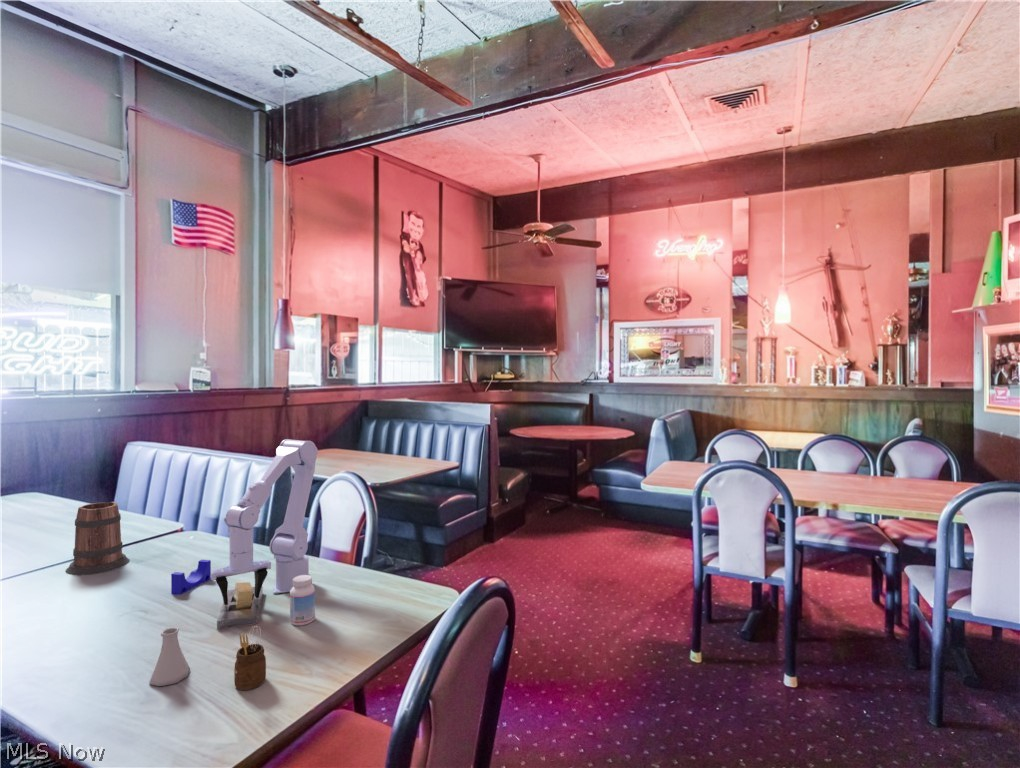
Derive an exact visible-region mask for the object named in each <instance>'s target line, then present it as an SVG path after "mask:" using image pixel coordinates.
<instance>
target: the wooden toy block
mask: <svg viewBox="0 0 1020 768" xmlns="http://www.w3.org/2000/svg"><path fill="white" fill-rule="evenodd" d="M234 590H235V593H234V599H233V602H236V606H235V611H237V610H245V609H251V602H252V596H253V589H252V584H251V582H235V587H234Z"/></svg>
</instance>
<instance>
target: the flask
mask: <svg viewBox="0 0 1020 768" xmlns="http://www.w3.org/2000/svg"><path fill="white" fill-rule="evenodd" d="M179 631H180V627H174V626H172V627H167V628H166V629H163V630H162V631H161V633H160V636H161V637H162V645H161V649H160V653H159V657H158V659H157V662H156V665H155V667H154V670H153V673H152V675H151V678H150V680H149V683H148V685H152V686H156V687H163V686H168V685H169V686H170V685H173V684H178V683H179V682H181V681H182V680H184V679H185V678H186V677H188V676H189V674H190V670H191V667H190V665H189V663H188V661H187V660H186V658H185V656H184V653H183V651H182V649H181V647H180V642H179V637H178V635H179V634H178V633H179Z"/></svg>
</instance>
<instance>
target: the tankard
mask: <svg viewBox="0 0 1020 768" xmlns="http://www.w3.org/2000/svg"><path fill="white" fill-rule="evenodd" d="M121 516H122V515H121V513H120V510H119V507H118V503H117V502H116V501H108V502H95V503H89V504H88V503H87V504H84V505H82V506H79V507H78V509H77V513H76V518H75V519H74V527H75V528H74V529H75V531H74V532H75V534H74V548H73V551H72V554H73V555H72V557H73V561H71V562H70V564H69V566H68V567H67V568H66V569H65V574H67V575H71V576H88V575H89V576H90V575H97V574H101V573H107V572H110V571H114V570H117V569H121V568H123V567H125V566H127V565H128V564H129V563H130V562H131V560H130V558H129V557H127V555H126V554H124V553H123V541H122V531H121V519H122V517H121Z"/></svg>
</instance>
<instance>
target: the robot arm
mask: <svg viewBox="0 0 1020 768" xmlns="http://www.w3.org/2000/svg"><path fill="white" fill-rule="evenodd" d="M275 449H276V450H275V454H276V455H275V457H274V458H273V460H272V461H271V463H270V464H269V466H268V468H267V469H266V471H265V472H264V475H262V477H261V478H260V480H258V481H255V482H253V483H252V484H250V485H249V486H248V489H247V491H246V492H245V493H244V494H243V496H242V498H241V499H240V500H239V501H238V502H237V504H235V505H233V506H231V507H230V508H229V509H228V510H227V511H226V514H225V517H224V518H223V521H224V524H225V526H227V531H228V534H229V566H225V567H222V568H219V569H215V570H211V579H210V580H211V581H215V583H216V584H217V586H218V587H219V589H220V590H219V591H220V593H221V595H222V601H223V603H224V605H228V596H227V592H228V590H229V589H228V587H229V582H228V577H232V576H237V575H243V574H247V573H254V587H255V597H256V598H259V594H260V590H261V587H262V586H263V585H264V582H265V579H266V578H267V577H268V571H267V570H272V562H271V560H269V559H268V560H260V561H258V560H257V561H254V527H255V525H256V524H257V523H258V522H259V517H260V513H261V509H262V507H263V506H264V505H265V503H266V502H267V501H268V499H269V498H270V497H271V495H272V487H273V485H275V483H276V482H277V480H279V478H280V477H281V476H282V474H283V473H284V472H285V471H286V470H287V468H288V467H291V468H292V469H293V471H294V476H293V480H292V485H291V489H290V493H289V496H288V497H289V498H288V502H287V507H286V510H285V514H284V515H285V516H284V520H283V523H282V524H281V525H280V526H279V527H277V528H276V529H275V531H274V535H273V537H272V538H271V540H270V542H269V551H270V553H271V554H272V555H273V559H275V583H274V587H273V594H282V593H283V594H284V593H290V590H291V589H292V587H294V586H293V578H295V577H297V576H300V575H310V574H309V567H310V566H309V558H310V556H309V555H306V553H307V551H308V548H309V543H308V539H309V538H308V536H309V532H308V531H307V530H306V529H305V528H304V526H303V524H304V522H305V516H306V511H307V507H308V503H309V498H310V494H311V488H312V484H313V479H314V476H315V470H316V463H317V462H316V461H317V457H318V452H319V449H318V448H317V446H316V444H315V442H313V441H311V440H298V439H290V438H286V439H283V440H282V441H281V442H280V444H279V446H277V448H275ZM310 576H311V575H310Z"/></svg>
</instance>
